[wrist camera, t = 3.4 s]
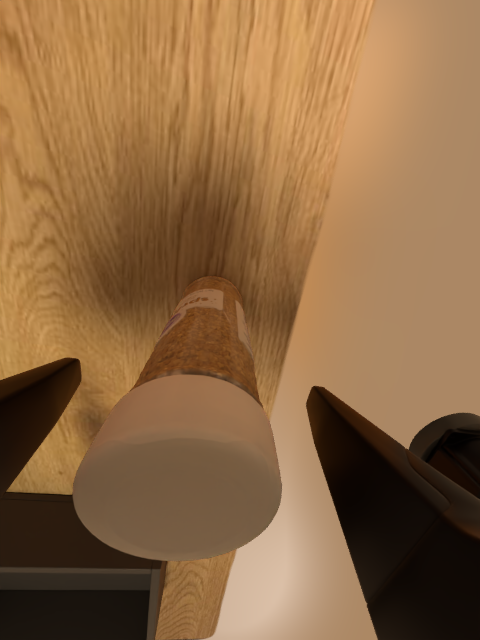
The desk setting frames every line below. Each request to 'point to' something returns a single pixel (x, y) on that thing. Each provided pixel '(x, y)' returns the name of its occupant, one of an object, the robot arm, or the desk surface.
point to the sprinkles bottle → (186, 442)
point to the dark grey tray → (70, 577)
